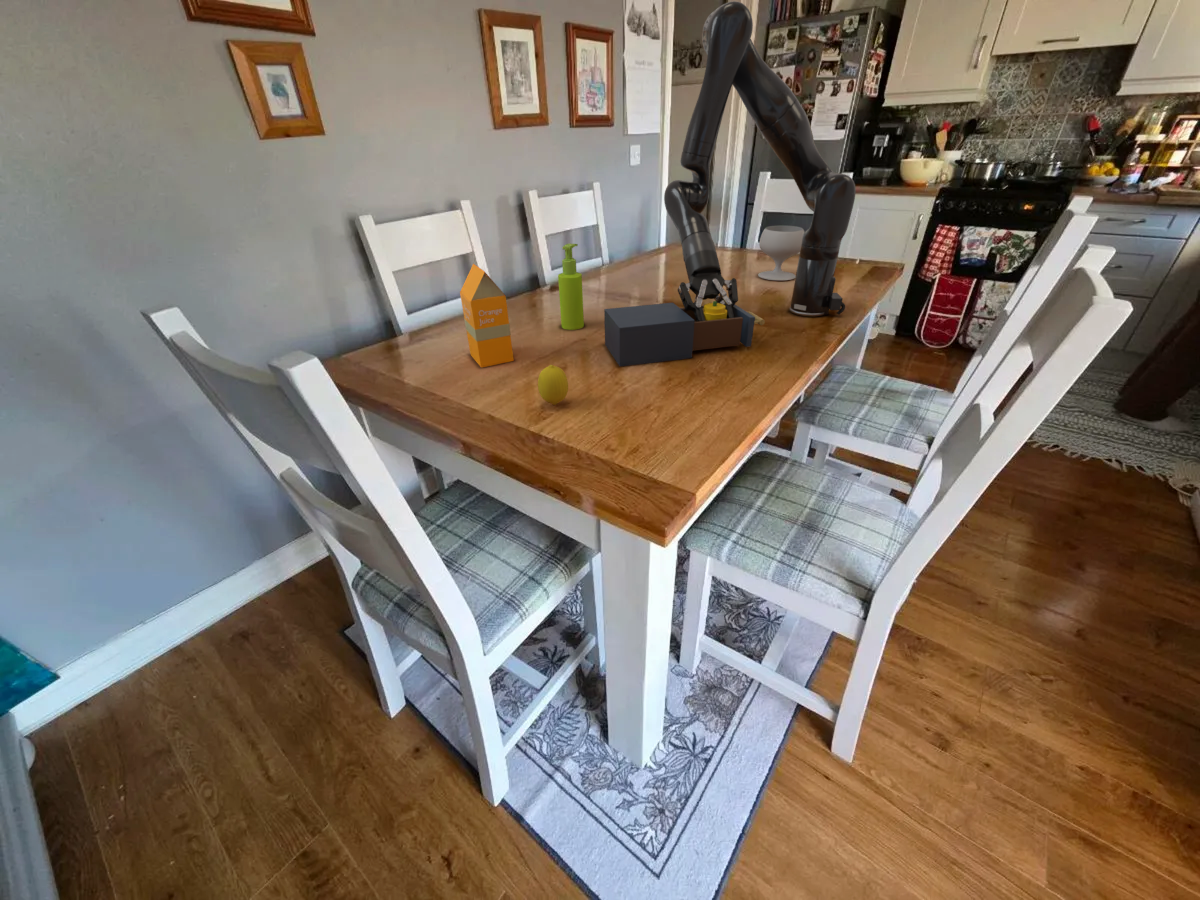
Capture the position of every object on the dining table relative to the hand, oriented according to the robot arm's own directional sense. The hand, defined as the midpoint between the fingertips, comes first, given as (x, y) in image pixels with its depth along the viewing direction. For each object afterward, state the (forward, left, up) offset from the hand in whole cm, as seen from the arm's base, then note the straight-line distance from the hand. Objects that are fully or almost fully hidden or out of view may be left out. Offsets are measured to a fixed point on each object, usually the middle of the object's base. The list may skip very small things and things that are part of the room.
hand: (716, 323), depth 116 cm
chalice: (-25, -65, -6) cm, 70 cm away
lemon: (+31, +32, -6) cm, 45 cm away
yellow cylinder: (+1, -2, -3) cm, 4 cm away
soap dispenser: (+35, -13, -6) cm, 38 cm away
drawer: (-1, -2, -5) cm, 5 cm away
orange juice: (+50, +10, -6) cm, 52 cm away
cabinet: (+15, +4, -5) cm, 17 cm away
